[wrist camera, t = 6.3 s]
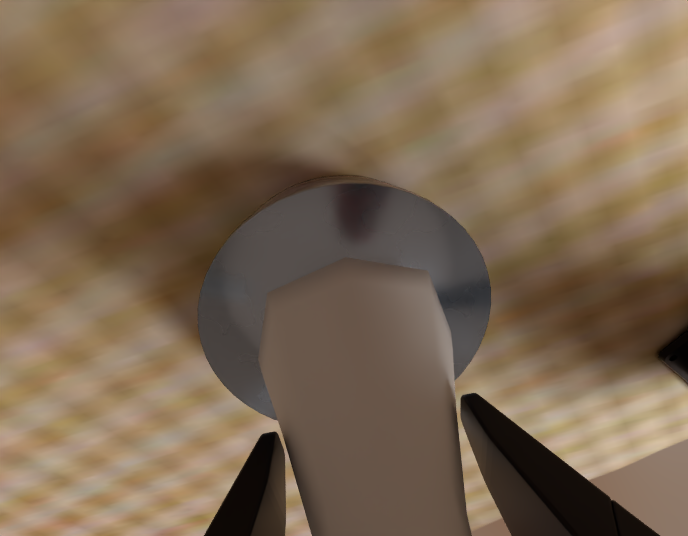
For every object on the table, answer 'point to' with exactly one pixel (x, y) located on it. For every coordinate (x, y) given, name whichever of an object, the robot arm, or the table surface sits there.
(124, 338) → the table surface
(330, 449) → the flask
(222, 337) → the biscuit tin
